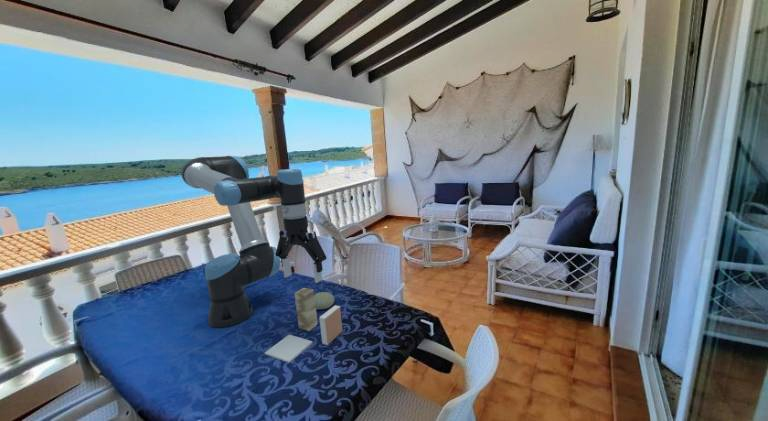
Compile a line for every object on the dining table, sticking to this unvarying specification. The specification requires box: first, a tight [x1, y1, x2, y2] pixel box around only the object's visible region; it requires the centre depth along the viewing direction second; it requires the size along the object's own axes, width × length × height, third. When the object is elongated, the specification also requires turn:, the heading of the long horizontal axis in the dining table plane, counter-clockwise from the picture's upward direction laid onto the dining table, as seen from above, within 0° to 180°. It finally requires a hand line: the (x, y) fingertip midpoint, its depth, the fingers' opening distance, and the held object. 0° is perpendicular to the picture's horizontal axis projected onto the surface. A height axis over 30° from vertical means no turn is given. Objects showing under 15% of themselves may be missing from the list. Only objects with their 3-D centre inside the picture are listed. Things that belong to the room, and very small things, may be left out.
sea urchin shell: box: [314, 291, 335, 311], centre depth 118 cm, size 9×8×8 cm
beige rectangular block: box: [294, 287, 319, 332], centre depth 102 cm, size 4×4×13 cm
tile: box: [319, 305, 343, 346], centre depth 95 cm, size 2×8×9 cm, turn 152°
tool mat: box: [264, 334, 314, 364], centre depth 92 cm, size 10×10×1 cm
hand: (302, 278), depth 100 cm, fingers open, 13 cm apart
